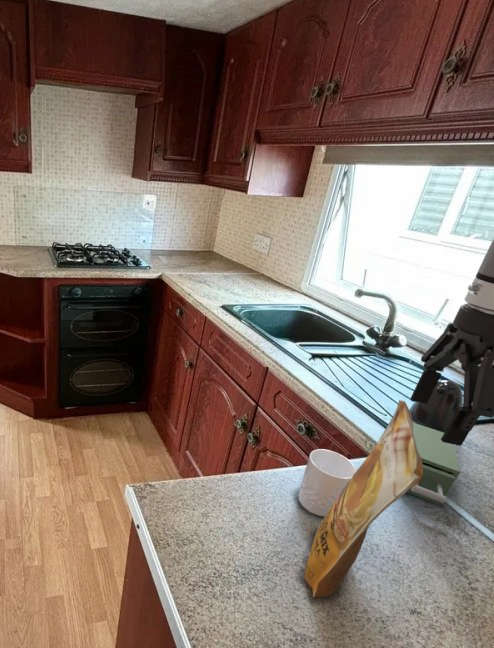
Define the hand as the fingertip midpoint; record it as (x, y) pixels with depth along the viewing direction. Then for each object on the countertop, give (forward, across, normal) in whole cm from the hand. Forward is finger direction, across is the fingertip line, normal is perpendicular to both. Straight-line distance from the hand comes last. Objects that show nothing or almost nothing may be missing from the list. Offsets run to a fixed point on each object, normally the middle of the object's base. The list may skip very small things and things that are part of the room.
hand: (433, 420), depth 73 cm
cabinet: (+19, -10, +7) cm, 23 cm away
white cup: (+19, +7, -16) cm, 26 cm away
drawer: (+18, -5, +6) cm, 20 cm away
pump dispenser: (+19, -30, +17) cm, 39 cm away
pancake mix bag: (+19, +21, -16) cm, 32 cm away
